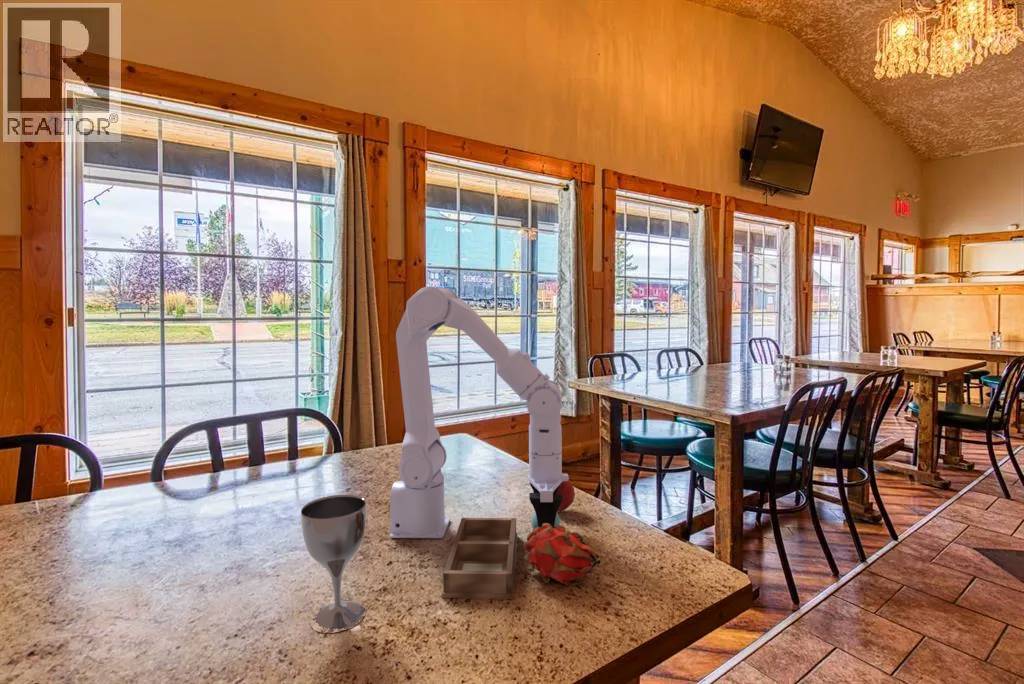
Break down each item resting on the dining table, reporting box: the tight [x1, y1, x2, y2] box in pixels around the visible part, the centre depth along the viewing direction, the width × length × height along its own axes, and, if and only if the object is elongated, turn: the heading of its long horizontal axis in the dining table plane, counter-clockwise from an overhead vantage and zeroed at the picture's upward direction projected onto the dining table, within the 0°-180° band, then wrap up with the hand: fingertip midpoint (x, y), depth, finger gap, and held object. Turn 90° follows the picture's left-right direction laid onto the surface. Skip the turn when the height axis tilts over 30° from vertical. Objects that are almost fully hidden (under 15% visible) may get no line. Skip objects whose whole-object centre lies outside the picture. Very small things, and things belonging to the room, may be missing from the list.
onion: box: [556, 472, 576, 513], centre depth 99 cm, size 6×6×8 cm
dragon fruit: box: [522, 523, 601, 587], centre depth 76 cm, size 8×8×12 cm
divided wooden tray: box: [441, 517, 519, 600], centre depth 80 cm, size 10×19×3 cm, turn 177°
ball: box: [531, 511, 561, 530], centre depth 90 cm, size 5×5×5 cm
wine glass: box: [300, 494, 367, 630], centre depth 66 cm, size 8×8×15 cm
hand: (545, 526), depth 90 cm, fingers closed on ball, 5 cm apart
